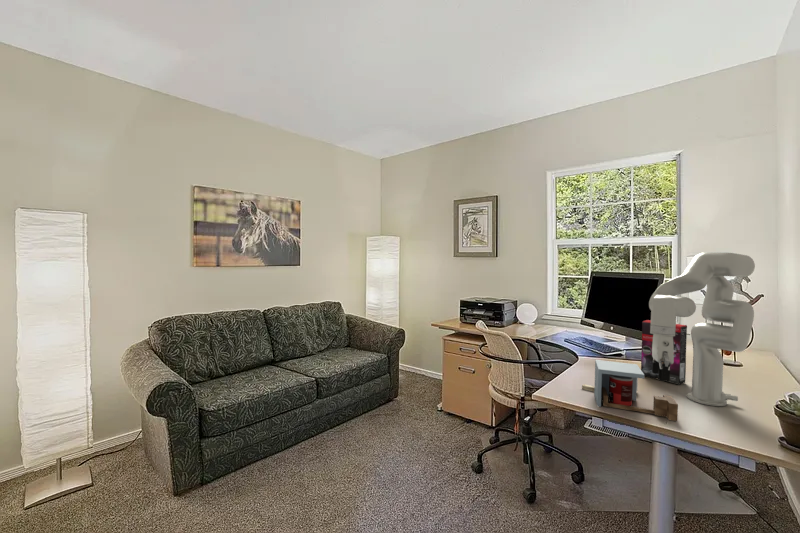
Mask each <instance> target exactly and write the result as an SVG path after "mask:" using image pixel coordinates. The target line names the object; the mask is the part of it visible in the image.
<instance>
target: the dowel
mask: <svg viewBox="0 0 800 533" xmlns="http://www.w3.org/2000/svg"><path fill="white" fill-rule="evenodd" d="M594 387H595V385H590V384H585V383H583V384H582V386H581V389H582V390H584V391H589V392H593V393H594Z"/></svg>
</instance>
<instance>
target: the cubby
mask: <svg viewBox="0 0 800 533" xmlns="http://www.w3.org/2000/svg"><path fill="white" fill-rule="evenodd" d="M594 363H595V366H594V392H593V393H594V398H595V402H596V407H599V408H601V407H602V399H601V387H605V388H606V391H607V394H608V398H609V376H610V375H618V376H626V377H632V378H633V390H632V401H635V402H636V401H637V393H638V391H637V378H638V379H645V376H644V373H643V372H642V371H641V367H639V365H638V364H637V363H628V362H627V363H626V362H620V361H619V362H618V361H610V360H609V361H608V360H602V359H595V361H594Z"/></svg>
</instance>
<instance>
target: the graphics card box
mask: <svg viewBox="0 0 800 533" xmlns="http://www.w3.org/2000/svg"><path fill="white" fill-rule="evenodd" d="M650 326H651V319H650V320H649V319H646V320H643V321H642V322H641V358H640V361H641V362H640V369H641V371H642V372H643V373H644V377H648V378H651V379H656V380H658V374H655V373H652V364H653V357H652V343H653V334H651V333H650ZM687 335H688V326H687V324H679V323H676V331H675V336H673V345H674V363H673V364H670V363H669V365H670V378H669V382H668V381H666V382H667V383H672V384H675V385H682V384H685V383H686V376H687V375H686V374H687V373H686V370H687V369H686V368H687V366H686V365H687V338H688V336H687ZM654 363H655V362H654Z"/></svg>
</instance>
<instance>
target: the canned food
mask: <svg viewBox="0 0 800 533" xmlns="http://www.w3.org/2000/svg"><path fill="white" fill-rule="evenodd" d="M632 390H633V378H632V377H626V376H618V375H610V376H609V397H608V403H613V404H620V405H626V406H633V400H632Z"/></svg>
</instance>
